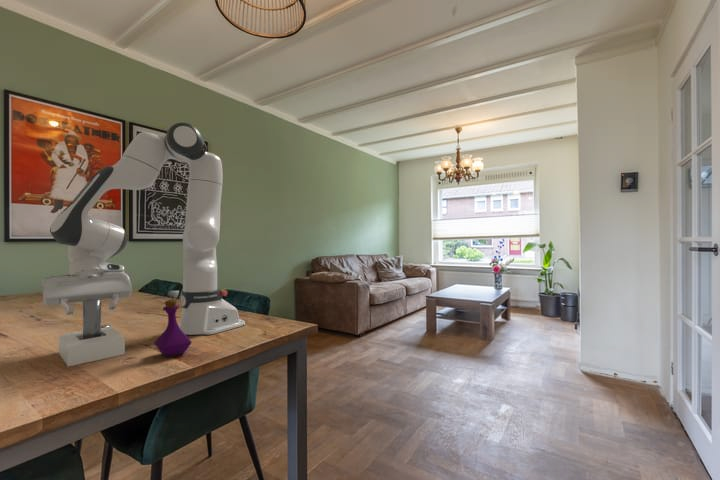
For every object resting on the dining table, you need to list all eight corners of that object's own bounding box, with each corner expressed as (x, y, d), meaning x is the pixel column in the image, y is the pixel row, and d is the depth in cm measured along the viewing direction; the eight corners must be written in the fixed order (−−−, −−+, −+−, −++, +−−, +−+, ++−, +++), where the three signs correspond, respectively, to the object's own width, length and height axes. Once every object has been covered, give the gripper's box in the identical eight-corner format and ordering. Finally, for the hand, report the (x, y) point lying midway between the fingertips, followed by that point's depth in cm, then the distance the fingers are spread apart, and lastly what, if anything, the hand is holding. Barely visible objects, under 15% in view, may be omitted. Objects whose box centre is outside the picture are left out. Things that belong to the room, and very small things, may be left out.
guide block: (110, 342, 102) (110, 326, 102) (124, 354, 92) (124, 336, 92) (58, 352, 93) (58, 334, 93) (67, 366, 83) (67, 346, 83)
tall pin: (94, 350, 95) (94, 298, 95) (104, 351, 94) (104, 299, 94) (78, 354, 91) (79, 301, 91) (89, 356, 90) (89, 302, 90)
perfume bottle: (153, 354, 92) (153, 290, 92) (182, 348, 97) (182, 287, 97) (162, 361, 87) (162, 293, 87) (191, 354, 92) (192, 290, 92)
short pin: (108, 337, 108) (108, 323, 108) (112, 340, 105) (112, 326, 105) (93, 340, 105) (93, 326, 105) (96, 342, 102) (96, 328, 102)
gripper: (41, 269, 91) (40, 309, 84) (129, 265, 106) (135, 299, 98) (41, 283, 95) (41, 323, 87) (127, 277, 109) (132, 311, 102)
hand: (92, 310), depth 93 cm, fingers open, 8 cm apart
